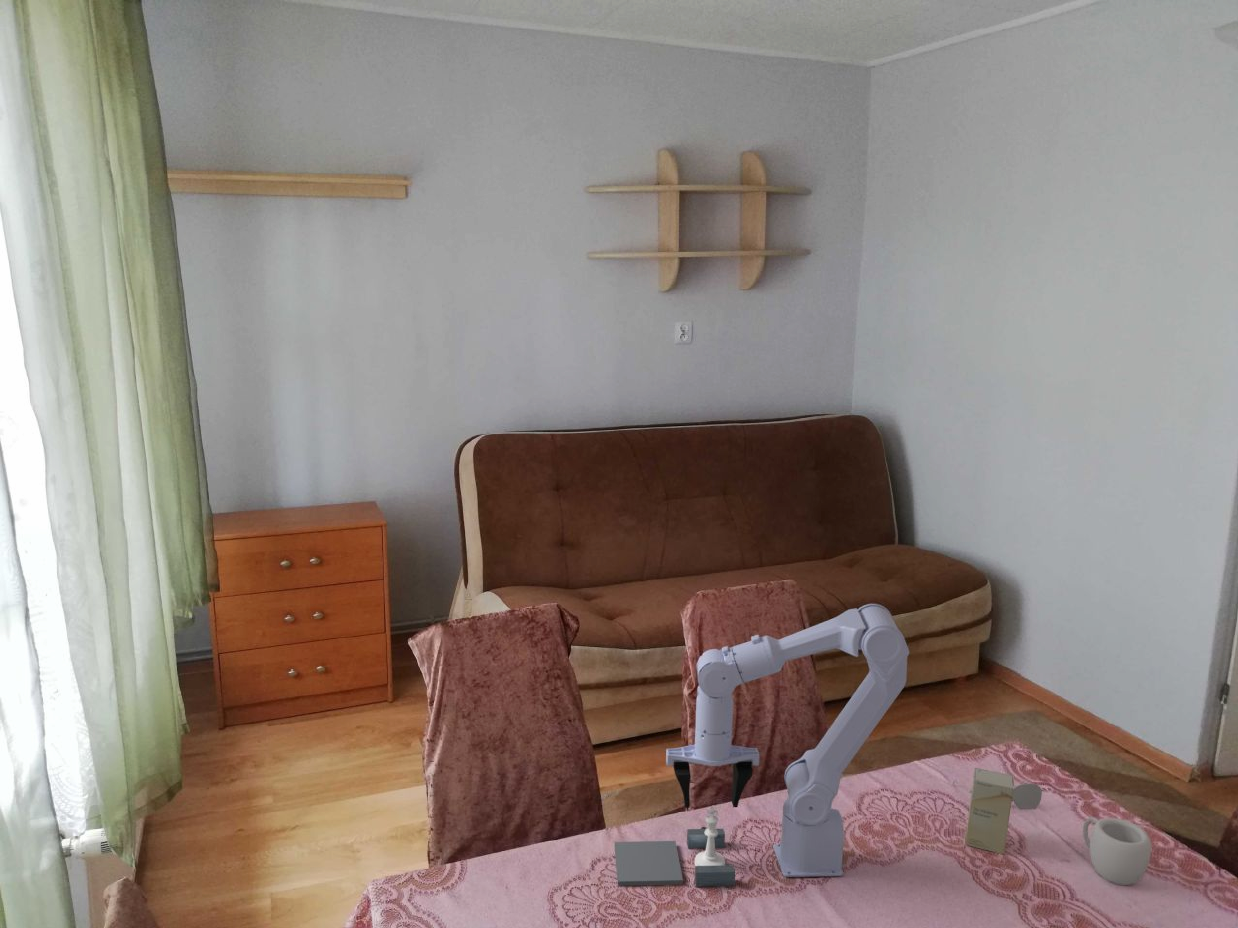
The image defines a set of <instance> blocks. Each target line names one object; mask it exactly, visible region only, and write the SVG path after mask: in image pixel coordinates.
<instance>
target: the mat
mask: <svg viewBox="0 0 1238 928" xmlns="http://www.w3.org/2000/svg"><path fill="white" fill-rule="evenodd" d="M678 852H679V851H678V847H677V842H676V840H653V841H652V840H651V841H649V840H647V841H644V840H643V841H641V840H640V841H614V854H615V855H614V856H615V866H616V880H617V886H618V887H631V886H632V887H637V886H641V887H643V886H678V885H681V886H683V882H684V879H683V874H682V873H683V872H682V869H681V864H680V859H679V853H678Z"/></svg>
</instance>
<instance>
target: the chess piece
mask: <svg viewBox="0 0 1238 928" xmlns="http://www.w3.org/2000/svg"><path fill="white" fill-rule="evenodd" d="M718 811H719V810H715V807H714V806H710V809H706V814H707V816H706V817H705V819H704V820H705V823H706V828H707V829H706V830H705V832H704V833H705V835H706V836H708V840H707V845H706V848H705V850H703V851H701V852H699V853H697V854H696V855H695V858H694V867H695V866H721V865H726V859H725V858H724V856H723V855H722V854H721V853H719V852H717V851H716V848H715V842H714V837H715V836H717V835H718V831H717V830H716V829H717V828H716V827H717V824H718V822H719V818H718V817H717V816H718V814H719V813H718Z"/></svg>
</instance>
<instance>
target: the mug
mask: <svg viewBox="0 0 1238 928" xmlns="http://www.w3.org/2000/svg"><path fill="white" fill-rule="evenodd" d="M1092 822H1094V825H1093V827H1092V831H1091V833H1090V837H1089V825H1090V823H1092ZM1082 836H1083V840H1084V842H1085V844H1086V845H1087V847H1088V848H1089V855H1090V859H1091V863H1092V864H1091V865H1092V867H1093V868H1094V870H1095V871H1096V873H1097V874H1098V875H1099V876H1100V877H1101V878H1103V879H1105V880H1106V881H1107V882H1110V883H1112V884H1116V885H1120V886H1130V885H1134V884H1135V883H1138V882H1139V881H1141V879H1142V877H1144V875H1145V874H1146V871H1147V869H1148V867H1149V864H1150V860H1151V856H1152V842H1151V839H1150V837H1149V834H1148V833H1147V832H1146V830H1145V829H1143V828H1142V827H1140V826H1139V825H1138V824H1135V823H1133V822H1131V821H1128V820H1126V819H1122V818H1117V817H1105V818H1101V819H1098V818H1097V817H1094V816H1089V817H1088V818H1087V819H1085V820H1084V823H1083V827H1082Z"/></svg>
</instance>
